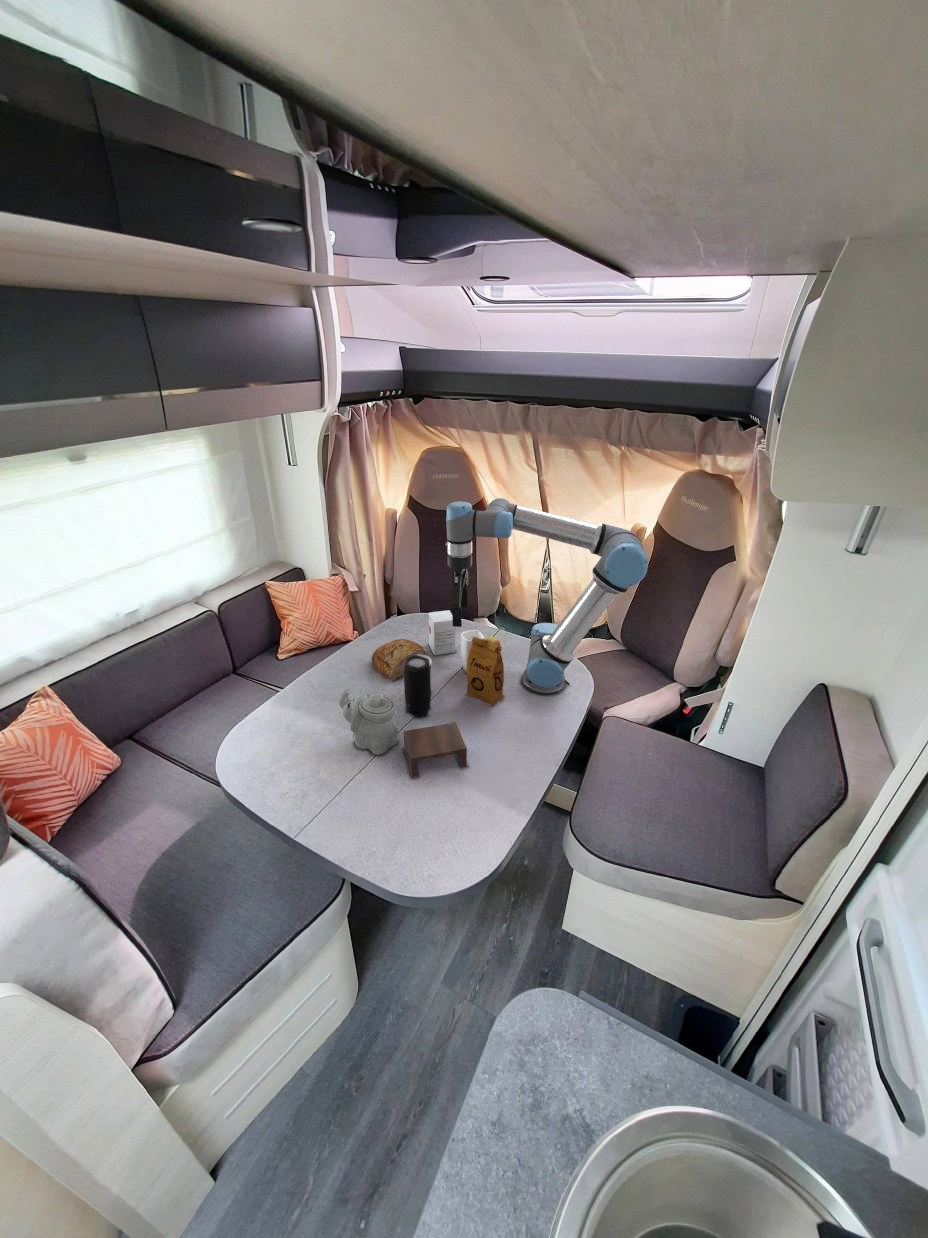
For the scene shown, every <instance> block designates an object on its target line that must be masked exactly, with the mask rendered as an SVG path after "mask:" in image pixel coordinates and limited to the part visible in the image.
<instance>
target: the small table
mask: <svg viewBox="0 0 928 1238" xmlns="http://www.w3.org/2000/svg"><path fill="white" fill-rule="evenodd" d="M402 735H403V750H404V752H405V758H406V761H407V764H408V770H409V773H410V777H411V778H416V777H418V762H422V761H427V760H432V759H439V758H444V757H449V756H454V755H455V756H456V759H457V761H458V763H459V766H460V768H461V769H463V768H467V761H468V760H467V757H468V755H467V753H468V747H467V746H466V743H465V740H464V738H463V735H462V734H461V731H460V729H459V727H458V724H457V722H456V721H454V722H448V723H441V724H436V725H431V726H425V727H420V728H413V729H409V730H403V734H402Z"/></svg>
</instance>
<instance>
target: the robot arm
mask: <svg viewBox="0 0 928 1238" xmlns="http://www.w3.org/2000/svg"><path fill="white" fill-rule="evenodd" d="M445 522H446V542H445V544H444V545H445V547H446V549H447V550H446V551H447V552H446V553H447V567H448V568H449V569H451V570H453V573H452V576H451V579H452V580H451V581H452V582H451V583H452V585H451V601H450V605H449V609H450V610H451V614H452V620H453V627H455V628H456V627H457V628H462V626H463V625H462V623H463V622H462V620H463V619H462V608H463V609H468V608H469V589H470V588H471V585H470V582H469V581H470V580H469V574H468V573H469V572H468V570H469V569H470V568H471V567H472V566H473V555H472V554H473V537H478V538H479V537H480V538H495V539H506V538H507V539H508V538H510V537H512V535H513V530H515V531H518V532H521V533H522V532H523V533H527V534H530V535H533V536H537V537H541V538H544V539H547V540H548V539H549V540H552V541H556V542H559V543H563V544H566V545H571V546H575V547H579V548H583V549H587V550H588V551H589V553H590V554H592V555H596V556H599V557H600V558H599V560H598V561H597V563H596V564H595V565H594V567H593V568H592V570H591V573H592V578H591V579H590V581H589V582H588V584H586V586H585V588H584V589H583V591H582V592H581V593H580V595H579V596H578V597H577V599H576V600H575V602H574V603H573V604H572V606H571V607H570V608H569V610H568V611H567V612H566V614H565V615H564V616H563V618H562V619H561V620H560V622H559V623H558V624H556V623H553V622H540V623H537V624H535V625H533V626H532V628H531V632H530V634H531V635H530V646H529V651H528V658H527V663H526V667H525V670H524V671H523V674H522V679H521V681H522V684H523V687H525V688H526V689H527V690H529V691H530V692H532V693H535V694H539V695H555V694H558V693H560V692H562V691H563V689H564V688H565V684H566V685H567V686H570V682H569V681H567V680H566V679H565V671H566V669H567V667H569V665H570V664H571V663H572V661H573V660H574V659H575V656H574V655H575V654H574V651H575V650H576V648H577V647H578V645H579V644H580V643H581V642H582V640H583V639H584V638H585V636H586V635H587V634H588V633H589V632H590V630H591V629H592V628H593V626H594V625H595V623H596V622H597V621H598V620H599V619H600V617H601V616H603V615H602V614H603V613H604V612H605V611H606V610H607V609H608V607H609V606H610V604H611V603H612V602H613V601H614V599H615V598H616V597H617V596H618V595H620V594H621V595H622V594H625V593H627V591H628V590H629V589H630V587H634V586H636V585H637V584H639V583H640V582H641V581H643V579H644V578H645V577H646V574H647V573H648V568H649V558H648V554H647V552H646V550H645V548H644V545H643V543H642V540H641V538H640V537H639V536H638V535H637V534H636V533H634V532H633V531H631V530H628V529H625V528H622V527H619V526H615V525H610V524H606V523H603V522H600V523H598V524H592V523H588V522H586V521H585V522H584V521H581V520H577V519H572V518H570V517H569V518H568V517H565V516H561V515H557V514H553V513H549V512H545V511H541V510H538V509H534V508H531V507H530V508H529V507H526V506H522V505H517V504H514V503H511V502H510V501H509V500H508V499H507V498H505V497H496V498H494V499H492V501H490V502H489V503H488V505H487V506H486V510H475V509H474V510H473V505H472V504H471V503H470V502H467V501H452V502H450V503H448V505H447V506H446V518H445ZM470 590H471V589H470Z"/></svg>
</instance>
